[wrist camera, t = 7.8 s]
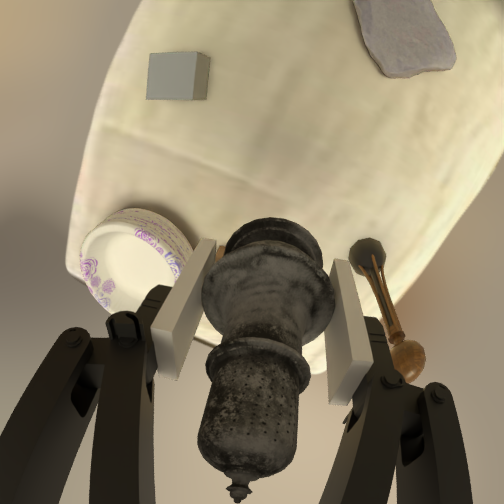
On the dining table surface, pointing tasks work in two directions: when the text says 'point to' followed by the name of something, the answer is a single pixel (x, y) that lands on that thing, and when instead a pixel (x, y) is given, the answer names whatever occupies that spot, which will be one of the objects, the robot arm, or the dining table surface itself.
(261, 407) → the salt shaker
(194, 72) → the slate cube
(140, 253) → the paper bowls
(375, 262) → the wooden tabletop sculpture
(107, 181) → the dining table surface
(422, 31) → the stone block
